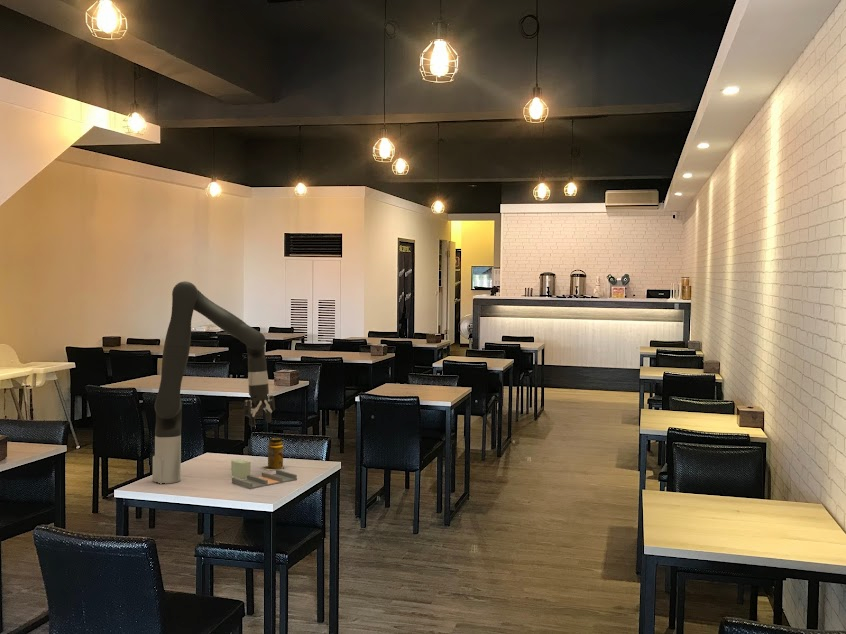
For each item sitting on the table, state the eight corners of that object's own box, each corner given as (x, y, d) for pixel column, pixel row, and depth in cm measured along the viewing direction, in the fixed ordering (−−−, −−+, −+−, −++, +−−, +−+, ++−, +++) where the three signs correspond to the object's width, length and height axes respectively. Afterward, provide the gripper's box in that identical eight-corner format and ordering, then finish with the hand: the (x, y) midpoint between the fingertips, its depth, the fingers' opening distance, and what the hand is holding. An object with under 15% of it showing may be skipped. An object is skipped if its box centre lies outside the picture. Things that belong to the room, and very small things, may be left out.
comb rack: (250, 489, 278) (250, 483, 278) (231, 483, 286) (231, 477, 286) (296, 479, 293) (296, 474, 293) (277, 474, 301) (278, 469, 301)
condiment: (287, 468, 313) (287, 438, 313) (269, 471, 308) (269, 441, 307) (277, 465, 319) (277, 436, 318) (259, 468, 313) (259, 438, 312)
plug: (241, 479, 293) (241, 463, 293) (231, 476, 298) (231, 460, 298) (250, 477, 296) (250, 462, 296) (240, 474, 301) (240, 459, 301)
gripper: (264, 380, 305) (266, 420, 305) (237, 385, 293) (240, 427, 293) (278, 380, 300) (280, 421, 301) (251, 385, 289) (254, 428, 289)
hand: (260, 424), depth 297 cm, fingers open, 8 cm apart
